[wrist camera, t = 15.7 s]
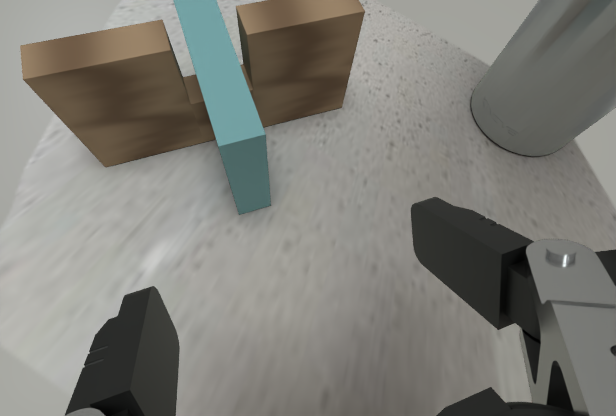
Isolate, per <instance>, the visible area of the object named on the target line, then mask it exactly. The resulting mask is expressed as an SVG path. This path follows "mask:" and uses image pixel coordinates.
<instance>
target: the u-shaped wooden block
mask: <svg viewBox="0 0 616 416" xmlns="http://www.w3.org/2000/svg"><path fill="white" fill-rule="evenodd" d="M236 11H237V18H238V26H239V34H240V41H241V49H242V56H243V65H240V66H241V69H242V72H243V74H244V77H245V80H246V83H247V85H248V88H249V91H250V93H251V96H252V99H253V102H254V104H255V107H256V110H257V112H258V115H259V118H260V121H261V123H262V126H263V127H267V126H270V125H274V124H278V123H282V122H286V121H290V120H294V119H298V118H302V117H306V116H310V115H314V114H318V113H322V112H326V111H330V110H334V109H338V108H342V104H343V100H344V96H345V92H346V88H347V83H348V79H349V75H350V71H351V67H352V63H353V59H354V54H355V50H356V46H357V42H358V38H359V34H360V30H361V25H362V21H363V17H364V13H365V10H364V9H363V7H362V5H361V3H360V2H359V0H267V1H262V2H256V3H251V4H245V5H240V6H236ZM20 48H21V60H22V73H23V80H24V81H25V82H26V83H27V84H28V85H29V86H30V87H31V88H32V90H33V91H34V92H35V93H36V94H37V95H38V96H39V97H40V98H41V99H42V100H43V101H44V102H45V103H46V104H47V105H48V106H49V107H50V109H51V110H52V111H53V112H54V113H55V114H56V115H57V116H58V117H59V118H60V119H61V120H62V121H63V123H64V124H65V125H66V126H67V127H68V128H69V129H70V130H71V131H72V132H73V133H74V134H75V135H76V136H77V137H78V138H79V140H80V141H81V142H82V143H83V144H84V145H85V146H86V147H87V148H88V149H89V150H90V151H91V152H92V153H93V154H94V155H95V157H96V158H97V159H98V160H99V161H100V162H101V163H102V164H103V165H104V166H105V167H109V166H113V165H116V164H120V163H124V162H128V161H132V160H136V159H140V158H144V157H148V156H152V155H156V154H160V153H164V152H168V151H172V150H176V149H180V148H184V147H188V146H192V145H195V144H199V143H203V142H207V141H211V140H215V139H216V137H215V134H214V131H213V128H212V124H211V121H210V118H209V114H208V111H207V108H206V105H205V101H204V98H203V95H202V92H201V88H200V85H199V82H198V79H197V75H192V76H187V77H183V76H182V74H181V71H180V68H179V65H178V62H177V60H176V57H175V54H174V51H173V48H172V46H171V43H170V40H169V37H168V34H167V32H166V29H165V26H164V23H163V20H158V21H152V22H147V23H141V24H136V25H130V26H125V27H119V28H114V29H108V30H103V31H97V32H92V33H86V34H81V35H75V36H70V37H64V38H59V39H54V40H48V41H43V42H37V43H32V44H26V45H21V46H20Z"/></svg>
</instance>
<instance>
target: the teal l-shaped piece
mask: <svg viewBox="0 0 616 416" xmlns="http://www.w3.org/2000/svg"><path fill="white" fill-rule="evenodd" d="M174 4H175V7H176V10H177V13H178V17H179V20H180V23H181V26H182V30H183V33H184V36H185V40H186V43H187V46H188V49H189V53H190V56H191V59H192V62H193V66H194V69H195V72H196V75H197V79H198V82H199V85H200V88H201V92H202V95H203V98H204V101H205V105H206V108H207V111H208V114H209V118H210V121H211V124H212V128H213V131H214V134H215V137H216V141H217V144H218V147H219V150H220V154H221V157H222V160H223V164H224V167H225V170H226V173H227V177H228V180H229V183H230V186H231V190H232V193H233V196H234V199H235V203H236V206H237V209H238V212H239V215H240V214H243V213H247V212H250V211H254V210H257V209H260V208H264V207H267V206H270V205H271V201H270V188H269V174H268V161H267V147H266V134H265V131H264V129H263V126H262V123H261V121H260V118H259V115H258V112H257V110H256V107H255V104H254V102H253V99H252V96H251V93H250V91H249V88H248V85H247V83H246V80H245V77H244V74H243V72H242V69H241V66H240V64H239V61H238V58H237V55H236V53H235V50H234V47H233V45H232V42H231V39H230V36H229V34H228V31H227V28H226V26H225V23H224V20H223V17H222V15H221V12H220V9H219V7H218V4H217V1H216V0H174Z"/></svg>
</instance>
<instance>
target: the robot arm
mask: <svg viewBox="0 0 616 416" xmlns="http://www.w3.org/2000/svg"><path fill="white" fill-rule="evenodd" d="M471 107H472V112H473V115H474V118H475V120H476V122H477V124H478V125H479V127H480V128H481V129H482V131H483V132H484V133H485V134H486V135H487V136H488V137H489V138H490V139H491V140H492V141H494V142H495V143H497V144H498V145H500V146H501V147H503V148H505V149H507V150H509V151H511V152H515V153H518V154H521V155H528V156H544V155H547V154H551V153H553V152H555V151H557V150H559V149H560V148H562V147H563V146H564V145H566V144H567V143H568V142H570V141H571V140H572V139H574V138H575V137H576V136H578V135H579V134H580V133H582V132H583V131H585V130H586V129H587V128H589V127H590V126H591V125H593V124H594V123H596V122H597V121H598V120H599V119H601V118H602V117H604V116H605V115H606V114H608V113H609V112H610V111H612V110H613V109H614V108H616V0H539V1H538V3H537V4H536V5H535V7H534V8H533V9H532V11H531V12H530V13H529V15H528V16H527V17H526V19H525V20H524V22H523V23H522V24H521V26H520V27H519V29H518V30H517V32H516V33H515V34H514V35H513V37H512V38H511V40H510V41H509V42H508V44H507V45H506V46H505V48H504V49H503V51H502V52H501V53H500V55H499V56H498V57H497V59H496V60H495V62H494V63H493V64H492V66H491V67H490V69H489V70H488V71H487V73H486V74H485V76H484V77H483V78H482V80H481V81H480V83H479V84H478V85H477V87H476V88H475V90H474V92H473V95H472V99H471ZM411 221H412V234H413V246H414V251H415V254H416V256H417V258H418V260H419V261H420V263H421V264H422V265H423V266H425V267H426V268H427V269H428V270H429V271H430V272H431V273H433V274H434V275H435V276H436V277H437V278H438V279H440V280H441V281H442V282H443V283H444V284H445V285H447V286H448V287H449V288H450V289H451V290H452V291H454V292H455V293H456V294H457V295H458V296H459V297H461V298H462V299H463V300H464V301H465V302H466V303H468V304H469V305H470V306H471V307H472V308H473V309H475V310H476V311H477V312H478V313H479V314H480V315H482V316H483V317H484V318H485V319H486V320H487V321H488V322H490V323H491V324H492V325H493V326H494V327H495V328H497V329H498V330H499V329H502V328H504V327H507V326H509V325H511V324H514V323H516V324H517V325H519V326H520V334H519V336H520V342H521V347H522V352H523V357H524V362H525V367H526V372H527V377H528V382H529V387H530V392H531V397H532V403H530V402H507V403H505V402H504V401H503V400H502V399H501V398H500V396H499V395H498V394H497V393H496V392H495V391H494V390H493V389H492V388H491V387H490V388H488V389H485V390H483V391H481V392H479V393H477V394H474V395H472V396H470V397H468V398H465V399H463V400H461V401H459V402H457V403H454V404H452V405H450V406H448V407H446V408H444V409H443V410H442V411H441V412H440V413H439V414H438V415H437V416H616V250H609V251H600V252H594V251H592V250H591V249H590V248H588V247H586V246H584V245H582V244H579V243H576V242H572V241H568V240H561V239H544V240H539V241H536V242H534V241H532V240H530V239H528V238H526V237H524V236H522V235H520V234H518V233H516V232H514V231H512V230H510V229H508V228H506V227H504V226H502V225H500V224H496V222H494V221H492V220H490V219H488V218H487V219H486V218H485V217H484V216H482V215H480V214H479V213H477V212H475V211H473V210H469V209H465V208H460V207H456V206H453V205H451V204H449V203H447V202H445V201H443V200H441V199H439V198H437V197H433V198H430V199H427V200H424V201H421V202H418V203H415V204H413V205H412V207H411ZM89 352H90V354H88V356H87V358H86V361H85V364H84V365H85V367H84V368H83V369H82V372H81V374H80V377H79V379H78V382H77V385H76V387H75V390H74V393H73V395H72V398H71V400H70V403H69V406H68V409H67V411H66V414H65V416H176V400H177V383H178V367H179V340H178V336H177V332H176V329H175V327H174V325H173V322H172V320H171V318H170V316H169V314H168V311H167V309H166V307H165V305H164V303H163V300H162V298H161V296H160V294H159V292H158V290H157V289H156V288H155V287H154V286H152V287H149V288H146V289H143V290H139V291H136V292H133V293H130V294H127V295H125V296H124V298H123V301H122V304H121V307H120V310H119V314H118V316H117V317H114V318H111V319H109V320H108V321H107V322H106V323H105V324H104V326H103V327H102V328H101V329H100V330H99V332H98V333H97V334H96V335H95V337H94V340H93V343H92V345H91V348H90V351H89Z"/></svg>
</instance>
